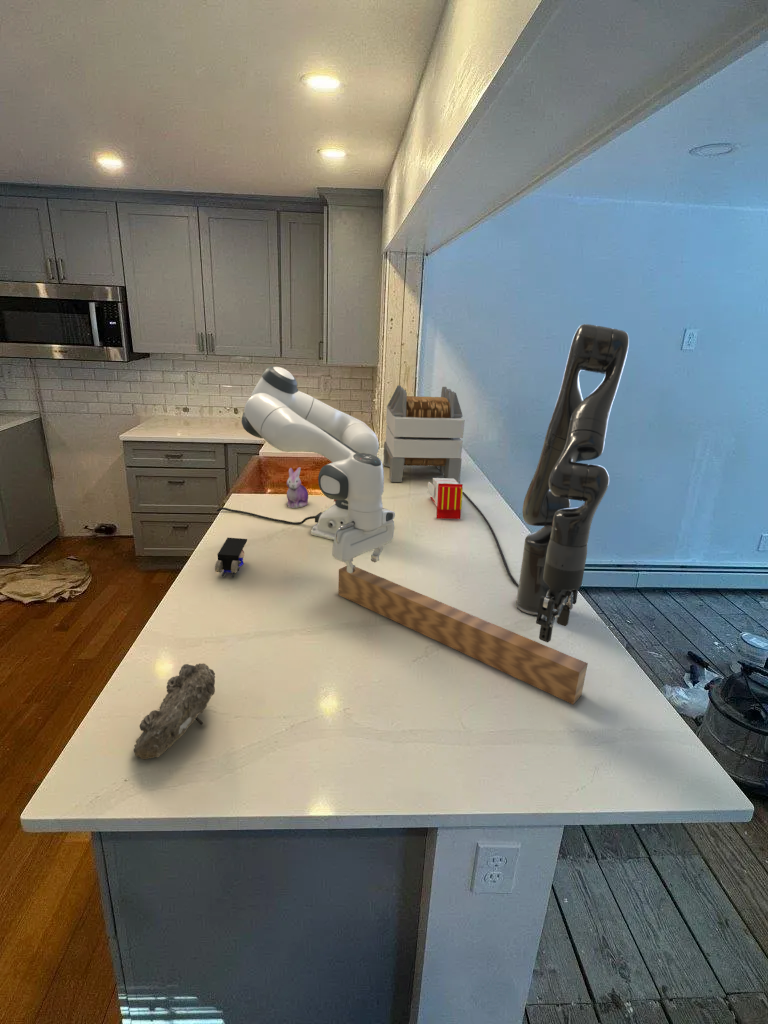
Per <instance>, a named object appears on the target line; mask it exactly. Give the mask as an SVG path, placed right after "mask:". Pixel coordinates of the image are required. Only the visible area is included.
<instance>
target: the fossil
mask: <svg viewBox="0 0 768 1024" xmlns="http://www.w3.org/2000/svg"><path fill="white" fill-rule="evenodd" d="M215 675H216V673H215V671H214V669H211V668H210V667H209V665H207V664H206V663H196V664H195V665H193V664H189V663H185V664H183V665H182V666H180V670H179V672H178V675H175V676H171V677H170V678H169V679H168V681H167V683H166V684H167V685H166V693H167V694H166V695H165V697H164V698H163V699H162V702H161V703H160V706H159V707H158V708H159V710H157V709H153V710H151V711H150V712H149V713H148V714H146V715H145V716H144V717H143V719H142V720H141V721H140V724H139V725H138V727H139V729H140V731H142V733H141V734H140V736H139V737H138V738H136V740H135V744H134V746H133V747H134V748H133V751H134V755H135V757H139V758H140V759H142V760H147V759H151V758H152V759H153V758H155V757H156V758H159V757H161V756H162V755H163V754H164V753H165V752H166V751H167V750H168V749H169V748H171V747H172V746H173V745H174V744H175V742H177V741H178V740H179V739H180V738H181V737H182V736H183V735H185V733H186V732H187V730H188V728H189V727H190V726H191V725H192V724H193V723H194V722H197V723H198V724H199V725H200V726H201V725H203V724H204V722H203V721H202V720H201V719H200V718H199V717H198V716H199V714H202V713H203V711H205V709H206V708H207V705H208V704H209V702H210V700H211V697H212V696H213V695H215V692H216V688H215V683H216V679H215V678H216V676H215Z"/></svg>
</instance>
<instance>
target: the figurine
mask: <svg viewBox="0 0 768 1024" xmlns="http://www.w3.org/2000/svg"><path fill="white" fill-rule="evenodd" d="M301 470H302V468H301V467H300V466H299V467H297V468H296V469H295V471H294V469H293V468H292V467H290V468H289V469H288V478H287V480H286V486H287V487H288V488H287V492H286V499H287V503H286V505H287V507H288V508H290V509H292V508H293V509H297V508H303V507H305V506H307V505H308V502H309V492H308V489H307V488H306V486H304V485H303V484H302V481H301V478H300V475H301Z"/></svg>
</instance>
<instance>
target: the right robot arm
mask: <svg viewBox="0 0 768 1024" xmlns="http://www.w3.org/2000/svg"><path fill="white" fill-rule="evenodd" d="M629 346H630V337H629V334H628V332H627V331H624V330H622V329H618V328H613V327H607V326H602V325H597V324H588V323H583V324H580V325H579V326H578V327H577V329H576V331H575V333H574V335H573V337H572V339H571V344H570V348H569V351H568V355H567V360H566V364H565V369H564V372H563V377H562V381H561V385H560V390H559V393H558V397H557V399H556V402H555V406H554V409H553V412H552V415H551V418H550V421H549V424H548V427H547V430H546V434H545V437H544V441H543V445H542V449H541V452H540V456H539V459H538V462H537V465H536V468H535V471H534V474H533V475H532V478H531V481H530V483H529V486H528V488H527V491H526V493H525V496H524V498H523V504H522V509H521V511H522V512H521V513H522V519H523V521H524V523H526V524H528V525H529V526H533V527H541V528H540V529H538V530H536V531H534V532H531V533H529V534H527V536H526V537H525V539H524V543H523V544H524V545H523V552H522V560H521V566H520V567H521V568H520V572H519V573H520V575H519V582H517V581H516V579H515V578H514V576H513V575H512V573H511V571H510V568H509V566H508V563H507V560H506V558H505V556H504V555H505V554H504V553H503V550H502V548H501V545H500V542H499V540H498V538H497V536H496V533H495V531H494V529H493V527H492V525H491V524H490V522H489V520H488V519H487V517H485V515H484V513H483V512H482V511H481V509H479V507H478V506H477V504H475V503H474V501H472V499H471V498H470V497H469V496H468V494H466V493H465V492H464V491H462V495H463V496H464V497H465V498H466V499H467V500H468V501H469V502H470V504H471V505H472V506H473V507H474V508H475V509H476V510H477V512H478V513H479V514H480V516H481V518H482V519H483V520H484V521H485V523H486V525H487V526H488V528H489V530H490V532H491V534H492V536H493V539H494V541H495V543H496V546H497V549H498V551H499V554H500V557H501V560H502V562H503V564H504V567H505V570H506V573H507V575H508V576H509V578H510V580H511V581H512V582H513V584H514V585H515V586H516V587H517V595H516V600H515V607H516V608H517V609H518V610H520V611H521V612H522V613H525V614H528V615H532V616H536V621H535V623H536V624H537V625H540V629H539V635H538V638H539V640H540V641H543V642H545V643H550V642H551V640H552V634H553V628H554V625H555V621H556V624H557V625H560V626H562V627H567V626H568V625H569V620H570V614H571V611H572V609H573V607H574V605H576V604H577V599H578V593H579V589H580V588H581V586H582V585H583V581H584V574H585V568H586V563H587V562H586V561H587V557H588V543H589V538H590V533H591V529H592V527H591V526H592V524H593V519H594V516H595V514H596V513H597V510H598V508H599V506H600V504H601V502H602V500H603V498H604V497H605V495H606V493H607V490H608V488H609V486H610V475H609V472H608V471H607V469H606V468H605V467H604V466H602V465H599V464H591V463H583V462H584V461H585V462H586V461H592V460H596V459H598V458H599V457H601V456H602V454H603V452H604V449H605V442H606V436H607V431H608V424H609V419H610V414H611V411H612V407H613V403H614V400H615V397H616V395H617V391H618V389H619V385H620V383H621V378H622V374H623V372H624V367H625V364H626V360H627V358H628V356H627V355H628V352H629ZM581 371H583V372H589V373H595V374H600V375H604V377H603V379H602V381H601V382H600V383H599V384H598V385H597V387H596V388H595V389H594V390H593V391H592V392H590V393H589V394H588V395H587V396H586V397H585V398H584V399H583V394H582V390H581V385H580V374H581ZM571 500H572V501H579V502H584V503H582V504H581V505H580V506H576V507H571Z"/></svg>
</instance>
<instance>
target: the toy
mask: <svg viewBox="0 0 768 1024" xmlns="http://www.w3.org/2000/svg"><path fill="white" fill-rule="evenodd" d="M463 485H464V484H463V483H460V482H459V483H458V482H457V481H456V480H455V479H454V478H444V477H432V482H431V481H428V482H427V493H428V494H429V498H430V500H431V501H432V502H433V504H435V506H436V519H437V520H461V518H462V516H461V515H462V507H463V493H462V492H464V491H463V490H464V487H463Z"/></svg>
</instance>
